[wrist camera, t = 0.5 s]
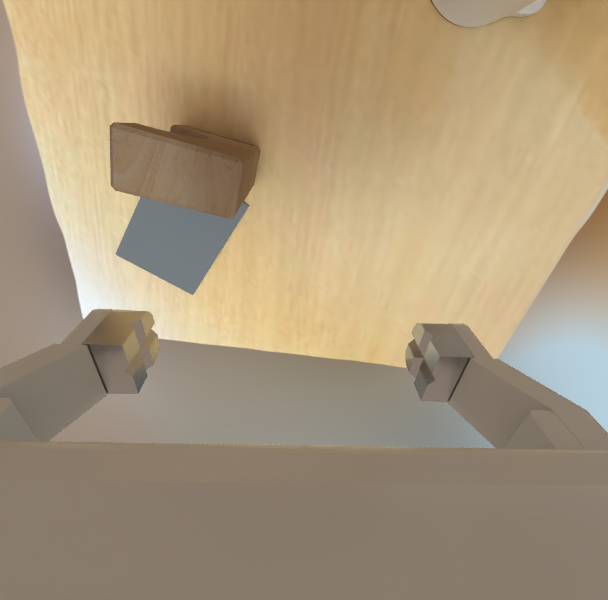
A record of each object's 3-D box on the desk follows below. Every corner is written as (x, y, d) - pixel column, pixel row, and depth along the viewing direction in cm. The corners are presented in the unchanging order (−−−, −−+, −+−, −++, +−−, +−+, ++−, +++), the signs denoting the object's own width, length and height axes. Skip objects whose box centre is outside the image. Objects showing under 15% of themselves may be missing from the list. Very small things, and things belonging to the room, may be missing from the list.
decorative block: (177, 166, 45) (107, 189, 27) (181, 122, 42) (107, 118, 25) (253, 188, 47) (232, 223, 29) (261, 148, 44) (244, 160, 27)
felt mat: (163, 147, 44) (162, 147, 44) (249, 205, 49) (248, 205, 48) (116, 253, 52) (115, 254, 52) (193, 294, 57) (192, 295, 57)
